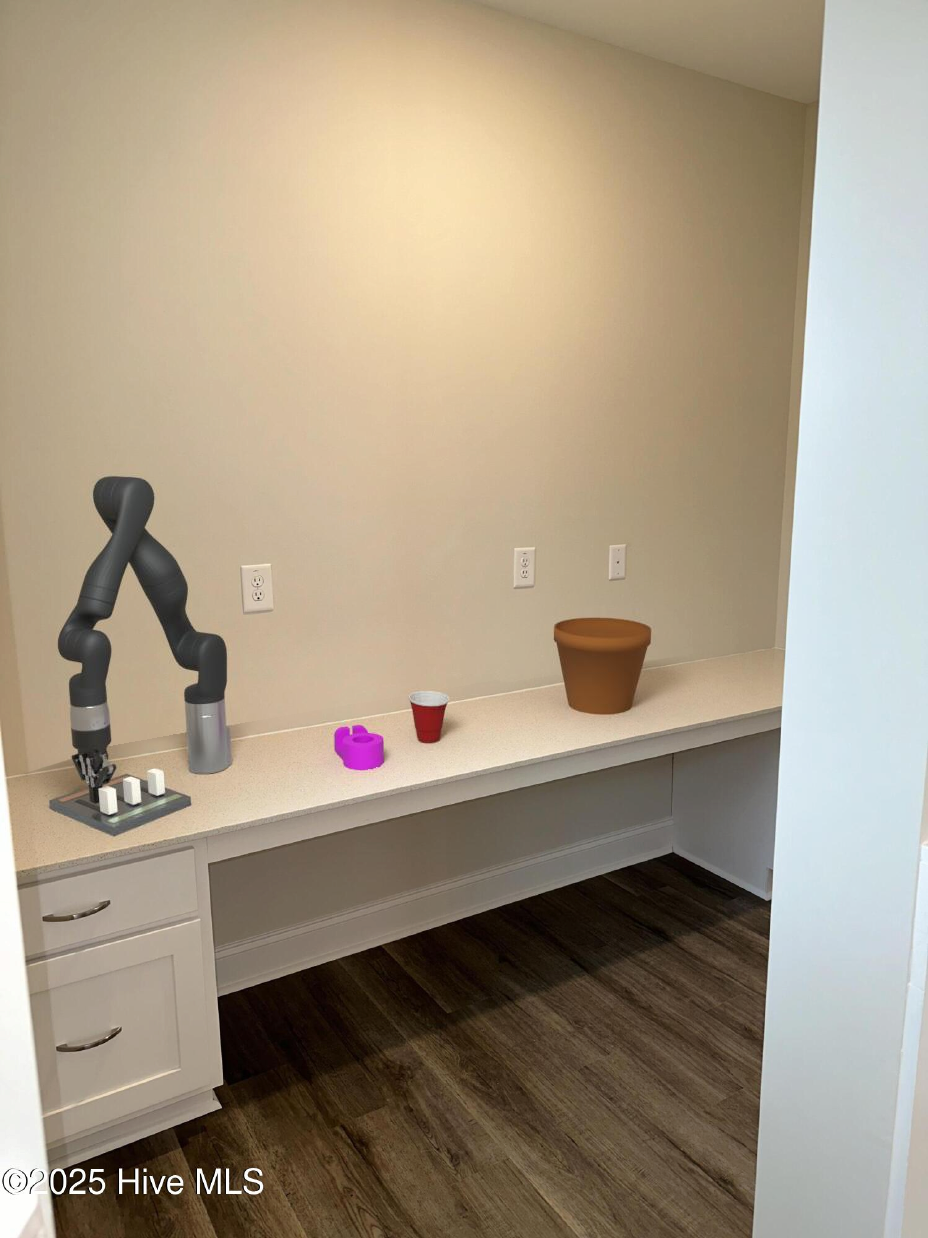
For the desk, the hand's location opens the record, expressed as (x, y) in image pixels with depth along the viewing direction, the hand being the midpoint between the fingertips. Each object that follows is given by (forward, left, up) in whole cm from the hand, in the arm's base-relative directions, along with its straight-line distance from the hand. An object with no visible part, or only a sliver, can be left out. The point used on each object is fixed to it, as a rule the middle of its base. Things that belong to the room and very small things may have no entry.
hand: (96, 801), depth 193 cm
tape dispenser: (-58, +21, -4) cm, 62 cm away
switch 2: (-12, +4, -1) cm, 13 cm away
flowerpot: (-133, +49, -4) cm, 142 cm away
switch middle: (-6, +4, -1) cm, 7 cm away
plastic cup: (-79, +27, -4) cm, 84 cm away
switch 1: (0, +4, -1) cm, 4 cm away
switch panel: (-6, -1, -4) cm, 7 cm away
